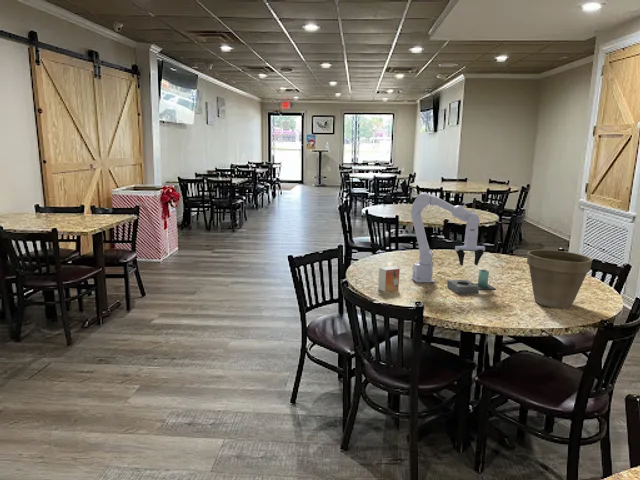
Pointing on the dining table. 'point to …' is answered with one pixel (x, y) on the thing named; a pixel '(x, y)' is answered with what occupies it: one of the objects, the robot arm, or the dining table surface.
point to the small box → (388, 279)
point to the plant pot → (557, 276)
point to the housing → (463, 287)
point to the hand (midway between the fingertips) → (468, 264)
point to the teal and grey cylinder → (483, 278)
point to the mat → (486, 288)
